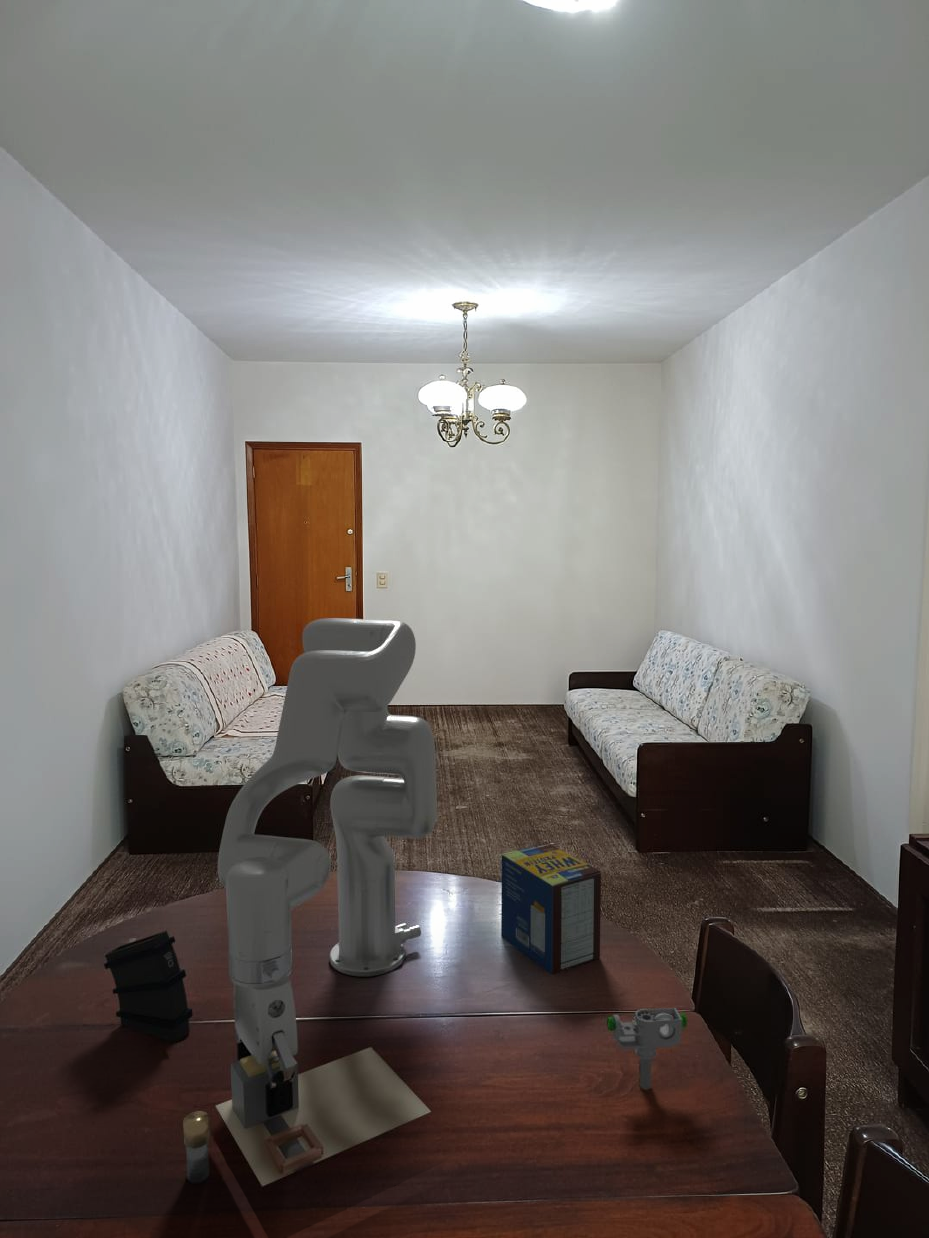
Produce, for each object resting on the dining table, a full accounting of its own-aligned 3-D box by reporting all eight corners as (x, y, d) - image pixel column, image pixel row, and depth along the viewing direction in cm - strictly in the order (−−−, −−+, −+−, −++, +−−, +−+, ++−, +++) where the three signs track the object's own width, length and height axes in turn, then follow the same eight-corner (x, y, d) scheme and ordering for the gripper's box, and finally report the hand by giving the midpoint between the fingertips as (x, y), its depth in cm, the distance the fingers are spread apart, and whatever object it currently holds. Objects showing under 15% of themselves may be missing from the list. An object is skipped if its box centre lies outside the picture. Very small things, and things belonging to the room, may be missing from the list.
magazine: (190, 1040, 125) (151, 939, 126) (129, 1055, 131) (92, 959, 132) (209, 1026, 128) (170, 928, 129) (149, 1041, 134) (112, 947, 135)
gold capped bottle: (206, 1162, 104) (204, 1107, 103) (214, 1177, 102) (212, 1121, 101) (182, 1172, 102) (179, 1116, 101) (189, 1188, 100) (187, 1131, 99)
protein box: (546, 922, 164) (548, 841, 162) (601, 958, 151) (602, 871, 149) (499, 936, 158) (499, 853, 156) (551, 975, 145) (552, 884, 143)
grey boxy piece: (285, 1087, 115) (283, 1040, 115) (298, 1107, 112) (297, 1058, 111) (232, 1107, 112) (230, 1059, 111) (244, 1128, 108) (243, 1078, 107)
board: (371, 1054, 124) (370, 1040, 124) (431, 1120, 111) (431, 1103, 111) (215, 1114, 112) (215, 1098, 112) (262, 1195, 99) (261, 1177, 99)
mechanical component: (604, 1080, 119) (605, 1010, 118) (679, 1076, 120) (681, 1006, 118) (609, 1095, 116) (611, 1023, 115) (686, 1090, 117) (688, 1019, 115)
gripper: (318, 982, 104) (321, 1117, 106) (263, 924, 118) (267, 1044, 120) (256, 1002, 100) (261, 1142, 102) (207, 940, 114) (212, 1064, 116)
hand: (264, 1089), depth 111 cm, fingers open, 9 cm apart
